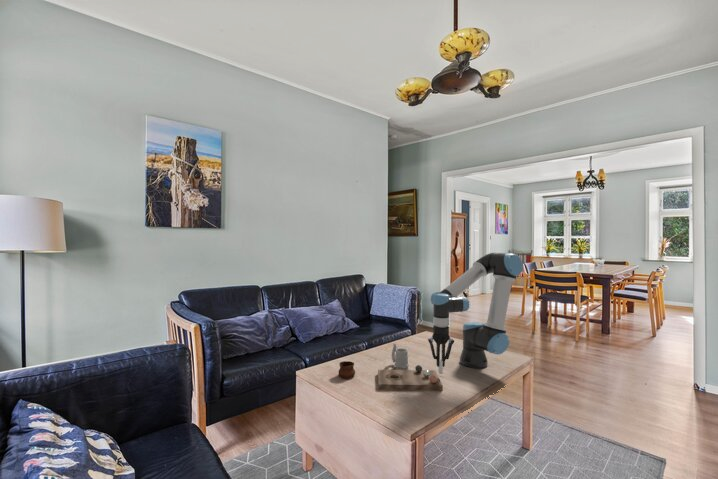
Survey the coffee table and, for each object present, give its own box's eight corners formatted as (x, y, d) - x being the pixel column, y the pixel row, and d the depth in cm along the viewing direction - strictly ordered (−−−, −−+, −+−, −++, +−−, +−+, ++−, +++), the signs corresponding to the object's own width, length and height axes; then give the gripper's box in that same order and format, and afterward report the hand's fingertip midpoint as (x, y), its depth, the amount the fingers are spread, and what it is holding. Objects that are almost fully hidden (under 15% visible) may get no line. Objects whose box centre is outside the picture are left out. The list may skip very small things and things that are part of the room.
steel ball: (429, 375, 172) (429, 369, 172) (430, 378, 168) (430, 371, 168) (422, 375, 172) (422, 368, 172) (423, 378, 169) (423, 371, 169)
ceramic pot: (331, 384, 167) (332, 370, 168) (327, 371, 185) (327, 358, 185) (367, 382, 171) (367, 368, 171) (360, 369, 188) (360, 356, 189)
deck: (435, 375, 179) (435, 370, 179) (442, 390, 161) (442, 385, 161) (377, 374, 180) (377, 369, 180) (378, 389, 162) (378, 384, 162)
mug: (401, 371, 184) (401, 349, 184) (386, 365, 193) (387, 343, 193) (411, 368, 188) (411, 346, 188) (397, 362, 198) (397, 341, 198)
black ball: (421, 370, 179) (421, 364, 179) (422, 373, 175) (422, 366, 175) (414, 370, 179) (414, 364, 179) (415, 373, 175) (415, 366, 175)
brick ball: (436, 381, 165) (436, 374, 165) (437, 384, 162) (437, 377, 162) (428, 381, 166) (428, 374, 165) (430, 384, 162) (430, 377, 162)
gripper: (452, 323, 173) (451, 370, 173) (426, 323, 174) (426, 369, 174) (456, 327, 166) (455, 376, 166) (429, 327, 166) (428, 375, 166)
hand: (440, 372), depth 170 cm, fingers closed
